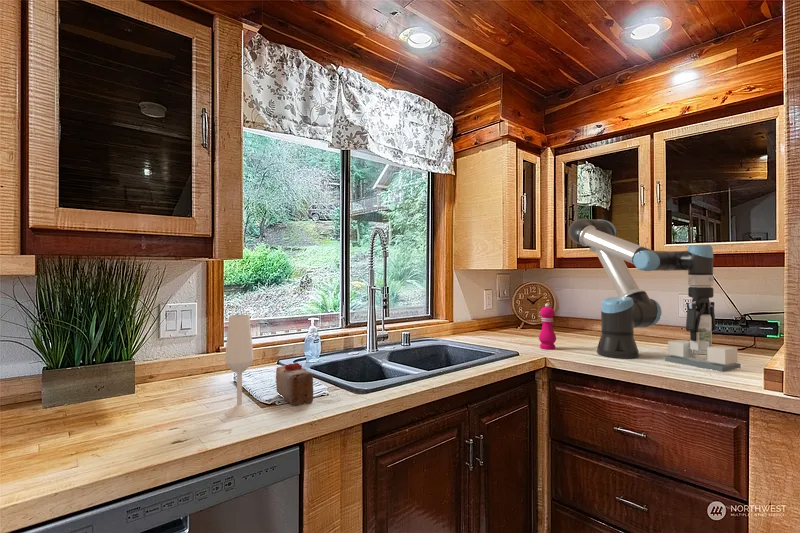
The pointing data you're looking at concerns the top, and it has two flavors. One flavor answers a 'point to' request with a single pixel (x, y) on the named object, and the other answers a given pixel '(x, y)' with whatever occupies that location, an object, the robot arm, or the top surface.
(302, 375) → the food item
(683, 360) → the board
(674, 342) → the left module
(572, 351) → the top surface
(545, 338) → the pepper mill
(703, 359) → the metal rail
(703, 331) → the syrup box
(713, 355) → the block
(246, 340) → the champagne flute
